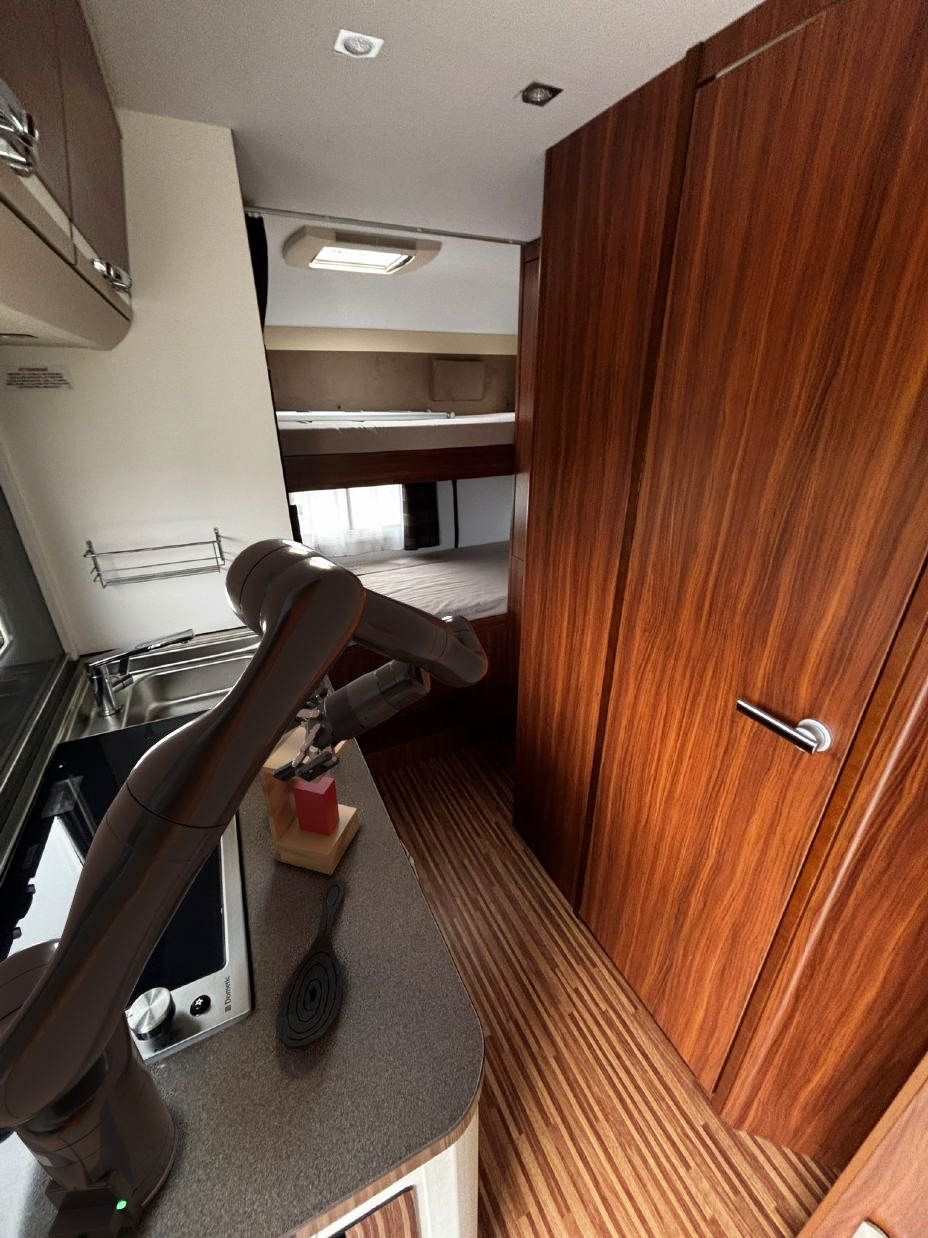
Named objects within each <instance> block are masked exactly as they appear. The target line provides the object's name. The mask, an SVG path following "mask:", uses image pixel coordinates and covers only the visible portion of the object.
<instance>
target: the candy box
mask: <svg viewBox="0 0 928 1238" xmlns="http://www.w3.org/2000/svg"><path fill="white" fill-rule="evenodd" d="M293 793H294V799H295V804H296V810H297V816H298V822H299V827H300V829H301V830H305V831H309V832H313V833H317V834H321V835H325V836H330V834H331V833H332V831H333V830H334V828H335V826H336V825H337V823H338V822H339V820H340V818H339V810H338V804H339V803H338V802H339V801H338V795H337V787H336V779H335V778H334V777H329V776H325V775H324V777H323V778H322V779H321V781H320V782H319V783H318V784H316V783H312V782H307V781H302V780H298V781H297V783H296V784H295V785H294V786H293Z"/></svg>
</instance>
